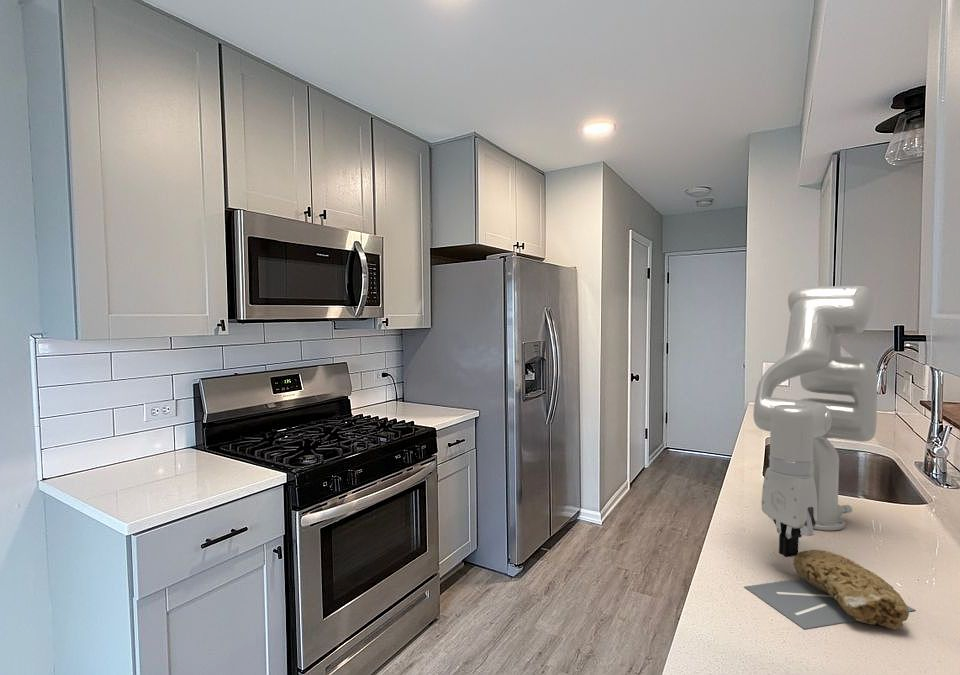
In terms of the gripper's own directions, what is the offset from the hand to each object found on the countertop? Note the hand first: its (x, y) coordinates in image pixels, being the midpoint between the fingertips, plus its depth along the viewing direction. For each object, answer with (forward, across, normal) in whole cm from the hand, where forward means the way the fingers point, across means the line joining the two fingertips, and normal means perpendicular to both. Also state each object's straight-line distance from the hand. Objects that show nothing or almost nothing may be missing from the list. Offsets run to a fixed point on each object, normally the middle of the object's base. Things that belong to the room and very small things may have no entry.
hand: (788, 554), depth 106 cm
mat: (+4, +10, 0) cm, 10 cm away
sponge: (+4, +11, +2) cm, 12 cm away
